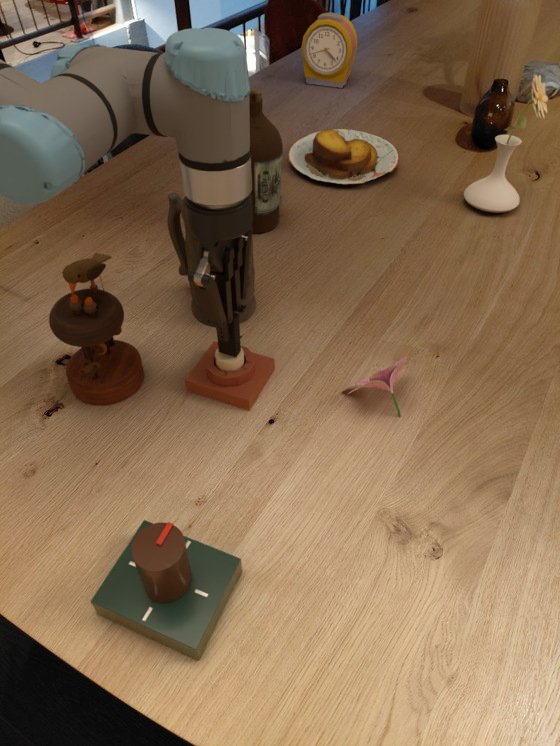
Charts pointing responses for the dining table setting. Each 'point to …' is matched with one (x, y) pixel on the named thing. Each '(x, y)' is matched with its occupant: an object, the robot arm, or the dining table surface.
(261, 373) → the button block
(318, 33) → the alarm clock
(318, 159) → the food on plate
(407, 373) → the dining table surface
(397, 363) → the lily
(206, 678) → the dining table surface
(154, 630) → the panel
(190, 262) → the beer stein
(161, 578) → the knob
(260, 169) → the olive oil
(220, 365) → the button
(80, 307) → the music box
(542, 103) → the flower in vase
